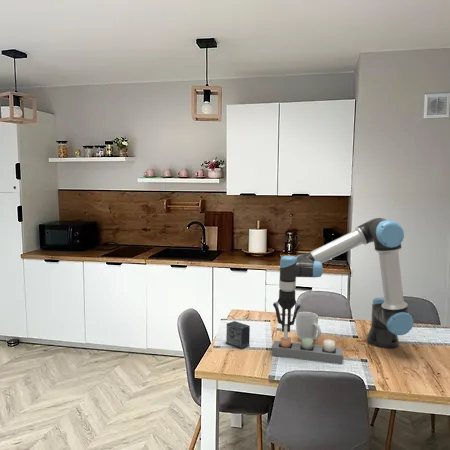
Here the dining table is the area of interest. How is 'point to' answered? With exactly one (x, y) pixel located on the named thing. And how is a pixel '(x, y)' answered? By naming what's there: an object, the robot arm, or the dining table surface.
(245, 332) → the small box
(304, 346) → the key sage
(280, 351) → the grey long block
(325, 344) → the key ivory
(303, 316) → the mug
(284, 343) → the key terracotta
